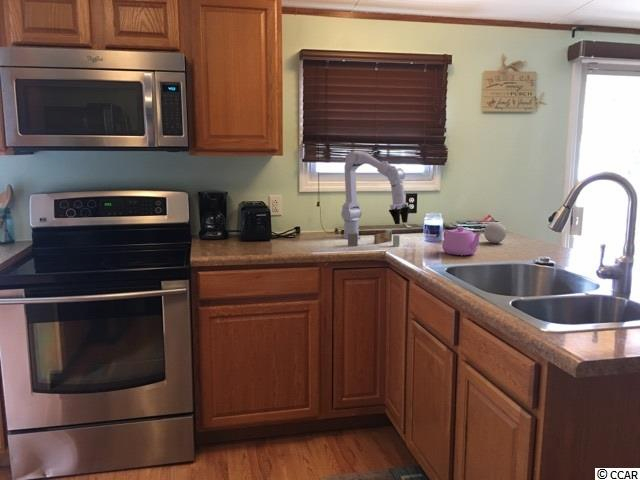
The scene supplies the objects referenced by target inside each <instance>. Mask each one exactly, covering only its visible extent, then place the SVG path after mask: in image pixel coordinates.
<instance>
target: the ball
mask: <svg viewBox="0 0 640 480" xmlns="http://www.w3.org/2000/svg"><path fill="white" fill-rule="evenodd" d="M483 235H484V238H485V239H486V240H487V242H489V243H491V244H499V243H501V242H503V241H504V240H505V239H506V236H507V229H506V228H505V226H504V224H502V223H500V222H497V221H496V222H490V223H489V224H487V225H486V226H485V228H484V230H483Z"/></svg>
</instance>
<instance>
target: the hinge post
mask: <svg viewBox="0 0 640 480" xmlns="http://www.w3.org/2000/svg"><path fill="white" fill-rule="evenodd" d="M386 232H391V241H390V242H393V230H392V229H386V230H385V233H386Z"/></svg>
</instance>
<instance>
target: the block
mask: <svg viewBox="0 0 640 480" xmlns="http://www.w3.org/2000/svg"><path fill="white" fill-rule="evenodd" d="M358 236H359V234H357V233H356V232H348V239H347V245H348V247H359V246H358V245H359V244H358V242H359V241H358V240H359V238H358Z"/></svg>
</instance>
